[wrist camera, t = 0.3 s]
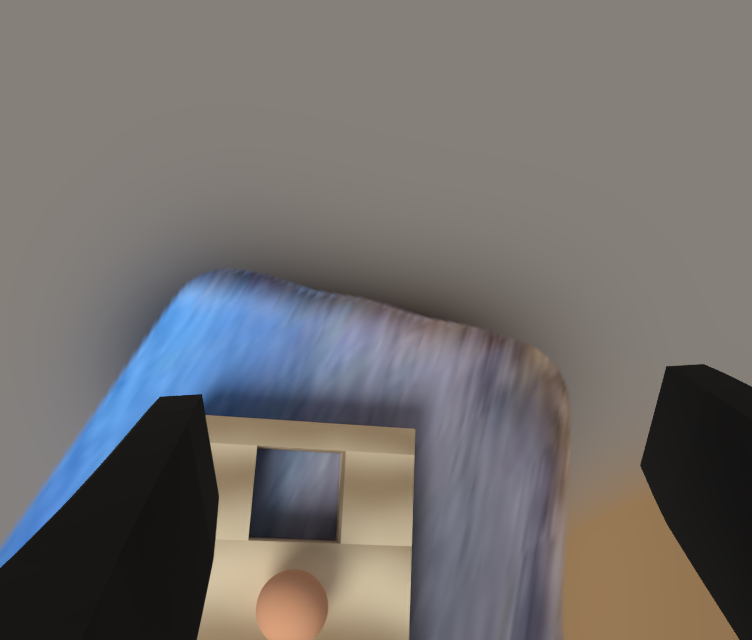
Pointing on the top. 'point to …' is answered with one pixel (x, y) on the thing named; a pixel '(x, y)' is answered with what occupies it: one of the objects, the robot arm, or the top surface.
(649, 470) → the robot arm
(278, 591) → the ball
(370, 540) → the beige flat board
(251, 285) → the top surface
